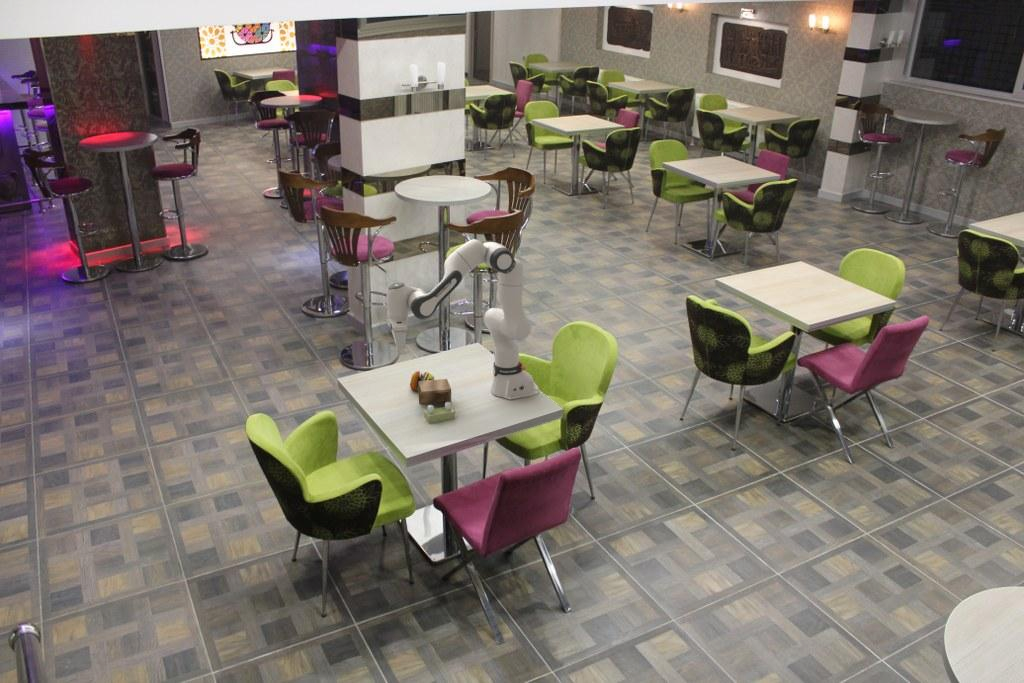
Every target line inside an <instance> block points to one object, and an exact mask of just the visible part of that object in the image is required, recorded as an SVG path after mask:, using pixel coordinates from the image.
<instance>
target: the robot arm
mask: <svg viewBox="0 0 1024 683" xmlns="http://www.w3.org/2000/svg"><path fill="white" fill-rule="evenodd" d="M481 264H484V265H485V266H487V267H488V268H490V269H493V270H494V271H495V272H497V273H498V279H497V280H498V282H497V294H496V296H497V298H496V299H497V301H498V303H499V304H500V306H501V308H499V307H491V308H489V309H488V310H486V312H485V313H484V315H483V324H484V326H485V327H486V328H487V330H488V333H489V334H490V337H491V339H492V344H493V348H494V352H493V353H494V362H493V367H492V374H493V379H492V383H491V387H490V393H491V394H492V395H494V396H497V397H500V398H505V399H507V400H509V401H511V400H516V399H522V398H526V397H532V396H537V395H538V394H539V392H540V388H539V386H538V385H537V384H536V383H535V381H534V377H533V376H532V375H531V374H530V373H529V372H527V371H526V366H525V365H523V363H522V362H521V361H520V360H519V358H520V357H519V356H520V354H519V351H520V348H519V346H518V344H517V342H516V341H518V342H521V341H526V339H527V338H528V337H529V336H530V334H531V332H532V325H531V322H530V321H529V320H528V318H527V316H526V312H525V309H524V304H523V290H524V289H523V288H524V266H523V263H522V261H521V260H520V259H518V258H515V257H514V254H513V252H511V251H510V249H508V248H507V247H506V246H505V245H503V244H501V243H499V242H497V241H495V240H486V241H480V240H479V239H475V238H473V239H471V240H469V241H466V242H465V243H464V244H462V245H461V246H459V247H458V248H457V249H455V250H454V251H453V252H452V253H451V254H450V255H449V256H448V257H447V258H446V259H445V261H444V264H443V270H444V275H443V278H442V279H441V281H440V282H439V283H437V285H436V286H435V287H434V288H433V289H432V290H431V291H430V292H428V293H427V292H426V291H425V290H423V289H422V288H420V287H418V286H417V287H415V286H410V285H408V284H406V283H404V282H403V281H402V282H400V281H399V282H398V281H397V282H393V283H391V284H389V286H388V287H387V290H386V308H387V311H386V322H387V323H386V324H387V326H388V327H389V328H390V329H391V334H392V338H393V339H394V344H395V349H396V351H397V352H401V351H402V349H405V348H406V344H407V343H406V342H407V331H408V324H409V312H412V314H413V316H415V318H417V319H418V320H419V319H420V320H426V319H430V318H431V317H432V316H433V315H435V313H436V311H437V309H438V307H439V305H441V304H442V302H444V300H445V299H446V298H448V296H449V295H450V294H452V292H453V291H454V290H455V289H456V288H458V286H459V285H460V283H461V282H462V280H464V278H465V277H466V276H467V275H468V274H469V273H470V272H472V271H473V270H474V269H475V268H477V266H479V265H481Z"/></svg>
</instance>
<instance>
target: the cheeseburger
mask: <svg viewBox="0 0 1024 683" xmlns="http://www.w3.org/2000/svg"><path fill="white" fill-rule="evenodd" d="M427 380H435V376H434V375H433V374H431V373H430V372H429V371H425V372H424V373H422V372H420V371H419V370H418V371H414V373H412V375H411V378H410V383H409V387H410V389H411V390H412V391H414V392H415V391H417V392H419V388H418V381H427Z"/></svg>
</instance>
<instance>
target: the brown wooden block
mask: <svg viewBox="0 0 1024 683" xmlns="http://www.w3.org/2000/svg"><path fill="white" fill-rule="evenodd" d="M418 388H419V391H418V404H419V405H420V404H428V403H439V402H444V403H446V402H450V403H451V404H452V388H451V386H450V383H449V380H448V378H443V379H442V378H441V379H434V380H427V381H418Z"/></svg>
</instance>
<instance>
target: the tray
mask: <svg viewBox="0 0 1024 683" xmlns="http://www.w3.org/2000/svg"><path fill="white" fill-rule="evenodd" d="M455 412H456V411H455V410H454V409H453V407H452V402H451V403H450V402H444V406H441V407H434V405H432V404H427V409H424V410H423V414H424V415H423V417H424V419H425V421H426V422H427V423H428V424H430V423H431V424H432V423H436V422H437V423H439V422H441V421H442V422H443V421H447V420H452V419H456V418H455V417H456V413H455Z"/></svg>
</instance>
